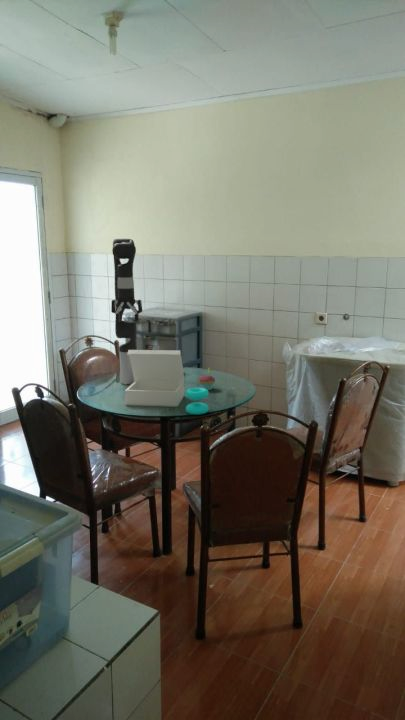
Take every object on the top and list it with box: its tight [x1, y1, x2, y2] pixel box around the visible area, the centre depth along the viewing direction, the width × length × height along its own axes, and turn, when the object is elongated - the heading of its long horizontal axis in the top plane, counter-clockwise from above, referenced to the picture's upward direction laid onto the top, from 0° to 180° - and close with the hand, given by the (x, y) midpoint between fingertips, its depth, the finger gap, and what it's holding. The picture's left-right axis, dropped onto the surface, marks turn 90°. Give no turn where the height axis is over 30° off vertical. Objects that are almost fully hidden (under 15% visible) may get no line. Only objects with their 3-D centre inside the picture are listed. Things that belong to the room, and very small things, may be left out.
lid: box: [127, 344, 185, 383], centre depth 242 cm, size 18×24×8 cm
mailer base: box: [124, 381, 185, 408], centre depth 239 cm, size 17×24×7 cm
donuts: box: [184, 387, 210, 416], centre depth 221 cm, size 10×10×10 cm
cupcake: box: [197, 367, 216, 391], centre depth 258 cm, size 9×8×12 cm
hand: (127, 321), depth 241 cm, fingers open, 8 cm apart
